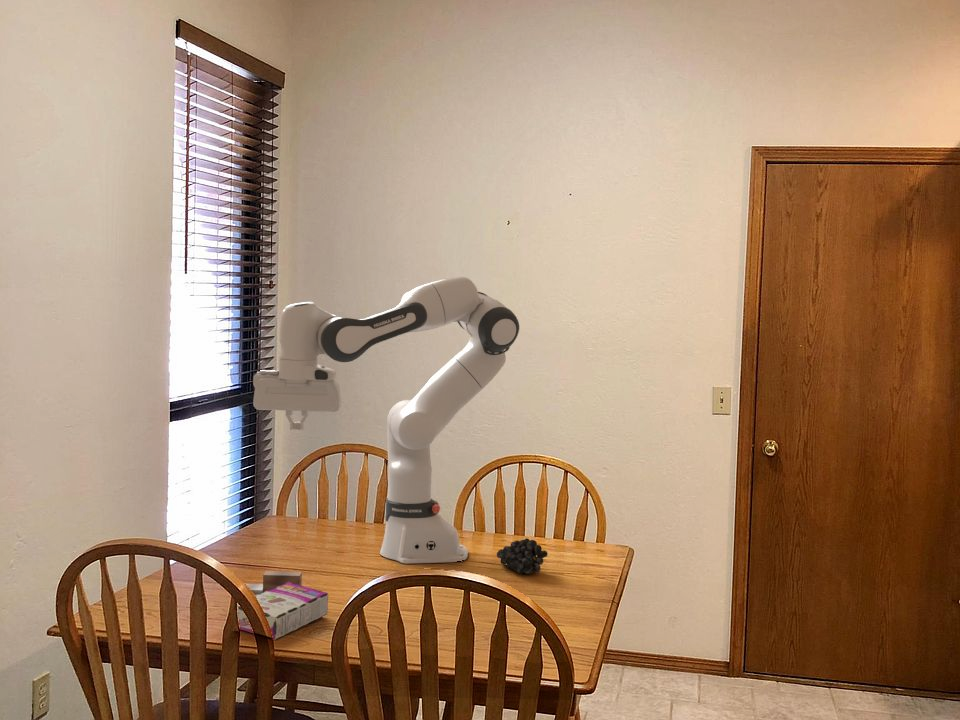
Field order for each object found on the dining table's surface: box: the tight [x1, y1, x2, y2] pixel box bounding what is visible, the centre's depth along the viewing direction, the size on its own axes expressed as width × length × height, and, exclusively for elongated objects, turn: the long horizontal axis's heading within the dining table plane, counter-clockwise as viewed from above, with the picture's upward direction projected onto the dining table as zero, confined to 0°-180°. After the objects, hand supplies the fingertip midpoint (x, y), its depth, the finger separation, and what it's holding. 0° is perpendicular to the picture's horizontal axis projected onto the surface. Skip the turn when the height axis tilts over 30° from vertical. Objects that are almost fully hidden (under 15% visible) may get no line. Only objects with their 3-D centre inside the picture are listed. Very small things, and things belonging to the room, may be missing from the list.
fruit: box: [496, 537, 549, 575], centre depth 242 cm, size 9×8×15 cm
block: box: [245, 570, 303, 594], centre depth 218 cm, size 13×4×4 cm, turn 91°
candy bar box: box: [238, 582, 329, 641], centre depth 199 cm, size 11×5×16 cm
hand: (296, 429), depth 232 cm, fingers closed
